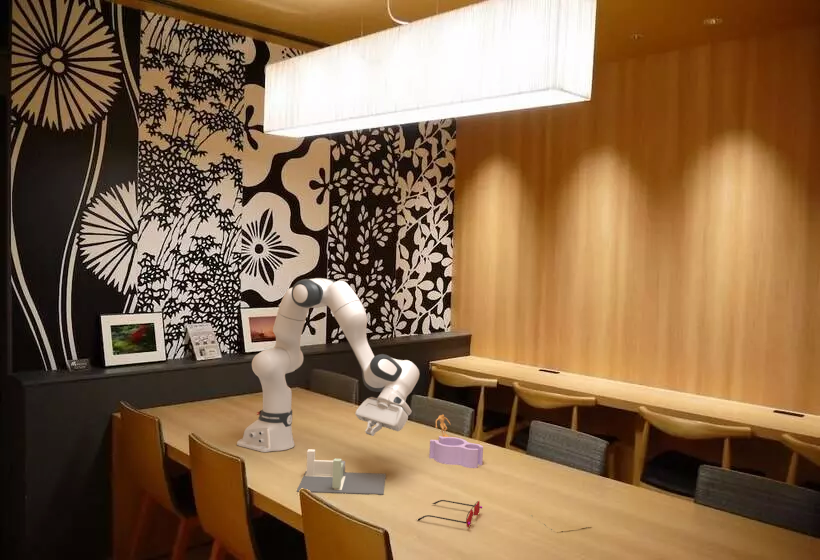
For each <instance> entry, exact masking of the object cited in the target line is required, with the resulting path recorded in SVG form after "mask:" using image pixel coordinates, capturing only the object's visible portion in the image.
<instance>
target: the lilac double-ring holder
mask: <svg viewBox="0 0 820 560" xmlns="http://www.w3.org/2000/svg"><path fill="white" fill-rule="evenodd" d="M428 455H429V459H434V461H436V462H437V463H440V464H445V465H452V466H453V465H455V466H456V465H458V466H462V467H463V468H469V469H477V468H479V466H483V461H484V460H483V457H484V445H481V444H479V443H473V442H469V441H467V440H465V439H464V438H460V437H454V436H453V437H452V436H449V437H442V435H439V436H438V439H430V440H429V454H428Z"/></svg>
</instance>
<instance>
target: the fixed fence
mask: <svg viewBox="0 0 820 560" xmlns="http://www.w3.org/2000/svg"><path fill="white" fill-rule="evenodd" d="M306 471H307V476H314V474H328V475H332V477H333V460H327V459H326V460H325V459H324V460H323V459H321V460H320V459H316V449H311V448H310V449H309V448H308V449H307V451H306Z"/></svg>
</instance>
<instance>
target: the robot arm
mask: <svg viewBox="0 0 820 560" xmlns="http://www.w3.org/2000/svg"><path fill="white" fill-rule="evenodd" d="M294 283H295V282H294ZM323 307H328V308H329V309H330V311H331V313H332V315H333V316H334V319H335V320H336V321H337V323H338V325H339V328H341V331H342V332H343V334H344V337H345V338H346V340H347V341H348V344H349V346H350V347H351V350H352V352H353V354H354V356H355V358H356V361H357V362H358V365H359V367H360V369H361V376H362V382H363V385H364V387H366V389H368V390H369V391H372V392H373V393H374V392H375V393H378V392H380V394H379V395H378V396H377V397H375V396H370V397H367V398H366V399H364V401H362V403H361V404H360V405H359V406H358V408H357V409H356V410H355V416H356V417H357V419H358V420H361V421H363V422H366V423H367V427H366V429H365V430H364V432H365V434H366V435H369V436H372V437H373V436H375V435H376V433H377V432H379V431H380V430H382V428H385V429H389V430H391V431H392V430H393V431H396V432H400V431H402V430H403V428H404V427H405V425H406V423H407V421H408V419H409V416H410V415H411V414H412V409H411V408H410V406H409V404H408V403H407V402H406V400H407V398H408V396H409V395H410V394H411V393H412V391H413V390H414V389H415V386H416V384H417V383H418V381H419V379H420V369H419V368H418V367H417V365H416V364H415V363H414V362H413V361H410V360H408V359H404V360H403V359H396V358H393V357H391V356H390V355H387V354H386V353H385V354H384V353H381V354H377V355H375V354H374V353H373V351H372V348H371V347H370V344H369V342H368V338H367V324H368V315H367V313H366V309H365V307H364V305H363V303H362V301H361V300H360V298H359V296H358V295H357V294H356V292H355V291H354V290H353V288H352V287H351V286H350V285H349V284H348V282H346V281H344V280H337V281H336V280H334V279H331V278H324V277H323V278H322V277H315V278H305V279H300V280H298V281H296V283H295V284H294V285H293V286H292V287H290V288H287V290H286V291H285V293H284V295H283V297H282V299H281V302H280V305H279V307H278V309H277V313H276V317H275V320H274V324H273V327H272V332H273V334H274V336H275V345H274V347H273V348H272V347H271V348H268V349H264V350H262V351H260V352H259V353H257V354H255V356H253V359H252V361H251V369H252V371H253V373H254V374H255V376H257V377H258V379H259V382H260V384H261V388H262V389H261V390H262V409H260V410H259V411H258V412H256V416H258V415H259V416H258V419H256V420H255V421H253V422H252V423H251V424H249V425H248V426H246V427H245V429H244V431H243V437H242V438H240V439H238V440H237V441H236V446H239V447H243V448H246V449H250V450H253V451H254V450H255V451H257V452H261V453H267V452H279V451H285V450H290V449H292V448H293V447H295V446H296V445H295V442H294V437H293V429H292V427H293V426H292V424H293V409H292V399H293V398H292V397H293V396H292V395H293V394H292V393H293V391H292V389H291V388H290V387H289V385H288V383H287V381H286V374H289V373H293V372H295V370H298V369H299V368H300V367H301V366H302V365H303V363H304V353H303V352H302V349H301V338H302V333H303V330H304V326H305V322H306V319H307V316H308V312H309V310H310V308H314V309H316V308H323Z"/></svg>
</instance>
